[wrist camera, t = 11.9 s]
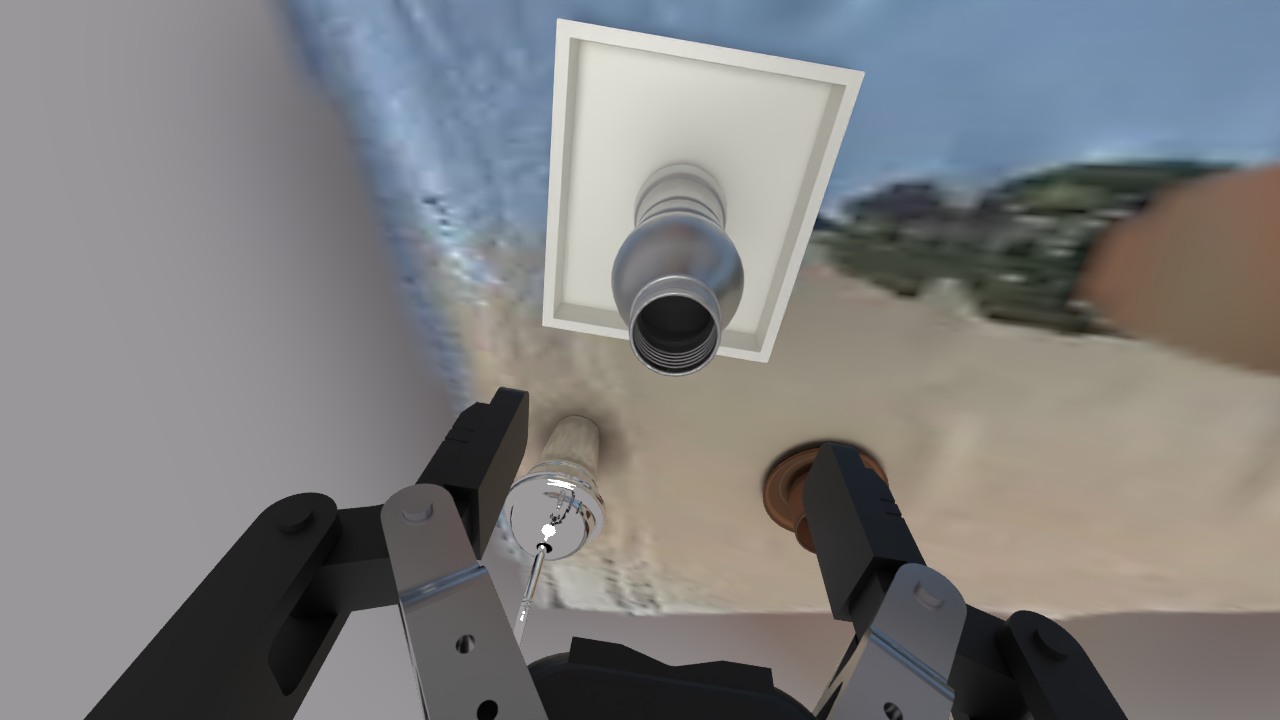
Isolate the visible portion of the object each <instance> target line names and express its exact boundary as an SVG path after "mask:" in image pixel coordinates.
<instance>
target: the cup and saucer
mask: <svg viewBox="0 0 1280 720" xmlns="http://www.w3.org/2000/svg"><path fill="white" fill-rule="evenodd" d="M819 449H820V448H816V449H811V450H807V451H804V452H801V453H798V454H796V455H794V456H792V457H790V458H788V459H787V460H785V461H784V462H782V463H781V464H780V465H778V466H777V467H776V468H775V469H774V470H773V472H772V473H771V474H770V476H769V477H768V479H767V481H766V484H765V487H764V492H763V503H764V507H765V509H766V511H767V513H768V515H769V516H770V518H771V519H772V520H773V521H774V522H776V523H777V524H778V525H779V526H781V527H783V528H784V529H787V530H789V531H791V532H794V533H795V535H796V538H797V541H798V542H799V544H800V545H801V546H802V547H803V548H805V549H806V550H808V551H810V552H812V553H815V554H816V551H815V547H814V544H813V540H812V536H811V533H810V529H809V525H808V522H807V518H806V515H805V511H804V507H803V502H802V492H803V486H804V482H805V480H806V478H807V476H808V473H809V471H810V469H811V467H812V465H813V463H814V460H815V458H816V456H817V454H818V452H819ZM858 453H859V455H860V457H861V459H862V461H863V464H864V466H865V468H870V469H873V470H874V471H875V472H876V473H877V474H878V475H879V476H880V478H881V479H882V480H883V481H884V482H885V483H886V484H887V485H888V487H889V484H888V479H887V477H886V475H885V473H884V471H883V470H882V468H881V467H880V466H879V465H878V464H877V463H876V462H875V461H874V460H872V459H871V458H870V457H868V456H867V455H865V454H863V453H860V452H858Z"/></svg>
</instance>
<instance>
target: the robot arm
mask: <svg viewBox="0 0 1280 720" xmlns="http://www.w3.org/2000/svg"><path fill="white" fill-rule="evenodd" d="M528 417H529V392H528V391H523V390H517V389H511V388H505V387H500V388H499V389H498V390H497V392H496V394H495V396H494V397H493V399H492V401H491V402H490V404H485V403H479V402H476V403H475V404H473V405H472V406H470V407H469V408H467V409H466V410H465V411H463V412H462V413H461V414H460V415H459V417H458V419H457V420H456V422H455V423H454V425H453V427H452V429H451V430H450V431H449V433H448V434H447V436H446V437H445V441H443V442H442V443H441V445H440V447H439V449H438V450H437V451H436V453H435V454H434V456H433V458H432V459H431V461H430V462H429V464H428V465H427V467H426V468H425V470H424V472H423V473H422V475H421V476H420V478H419V479H418V481H417V482H416V484H415V485H412V486H408V487H406V488H403V489H401V490H399V491H398V492H396V493H395V494H393V495H392V496H391V497H390V498H389V499H388V500H387V501H386V502H385V504H381V505H377V506H370V507H360V508H350V509H340V510H337V506H336V504H335V502H334V501H333V500H332V499H331V498H330V497H328V496H327V495H324V494H320V493H301V494H296V495H292V496H289V497H286V498H284V499H281V500H279V501H277V502H276V503H274V504H272V505H271V506H269V507H268V508H267V509H265V510H264V511H263V512H262V513H261V514H260V515H259V516H258V518H257V519H256V520H255V521H254V522H253V523H252V524H251V526H250V527H249V528H248V529H247V530H246V531H245V533H244V534H243V535H242V536H241V537H240V538H239V539H238V541H237V542H236V543H235V544H234V545H233V546H232V548H231V549H230V550H229V551H228V552H227V554H226V555H225V556H224V557H223V558H222V559H221V560H220V562H219V563H218V564H217V565H216V566H215V568H214V569H213V570H212V571H211V572H210V573H209V574H208V576H207V577H206V578H205V579H204V580H203V581H202V583H201V584H200V585H199V586H198V587H197V588H196V590H195V591H194V592H193V593H192V594H191V595H190V596H189V598H188V599H187V600H186V601H185V602H184V603H183V605H182V606H181V607H180V608H179V609H178V611H177V612H176V613H175V614H174V615H173V616H172V617H171V619H170V620H169V621H168V622H167V623H166V624H165V626H164V627H163V628H162V629H161V630H160V631H159V633H158V634H157V635H156V636H155V637H154V638H153V640H152V641H151V642H150V643H149V644H148V645H147V647H146V648H145V649H144V650H143V651H142V652H141V653H140V655H139V656H138V657H137V658H136V659H135V660H134V662H133V663H132V664H131V665H130V666H129V667H128V669H127V670H126V671H125V672H124V673H123V674H122V676H121V677H120V678H119V679H118V680H117V681H116V683H115V684H114V685H113V686H112V687H111V688H110V690H109V691H108V692H107V693H106V694H105V695H104V697H103V698H102V699H101V700H100V701H99V702H98V704H97V705H96V706H95V707H94V708H93V709H92V711H91V712H90V713H89V714H88V715H87V716H86V717H85V719H84V720H293V718H294V716H295V715H296V713H297V711H298V709H299V707H300V705H301V704H302V702H303V700H304V698H305V696H306V694H307V692H308V691H309V689H310V687H311V685H312V683H313V681H314V680H315V678H316V676H317V674H318V672H319V670H320V668H321V666H322V665H323V663H324V661H325V659H326V657H327V655H328V654H329V652H330V650H331V648H332V646H333V644H334V643H335V641H336V639H337V637H338V635H339V633H340V631H341V630H342V628H343V626H344V624H345V622H346V620H347V618H348V617H349V615H350V613H351V611H357V610H364V609H370V608H376V607H383V606H389V605H396V604H398V608H399V613H400V617H401V621H402V625H403V630H404V634H405V638H406V642H407V647H408V651H409V655H410V659H411V664H412V668H413V672H414V677H415V681H416V686H417V690H418V695H419V700H420V704H421V709H422V713H423V718H424V720H949V716H950V712H951V713H952V716H953V718H954V720H1128V719H1127V717H1126V716H1125V714H1124V712H1123V711H1122V709H1121V708H1120V706H1119V705H1118V703H1117V702H1116V700H1115V698H1114V697H1113V695H1112V694H1111V692H1110V690H1109V689H1108V687H1107V686H1106V684H1105V683H1104V681H1103V679H1102V678H1101V676H1100V675H1099V673H1098V672H1097V670H1096V668H1095V667H1094V665H1093V664H1092V662H1091V661H1090V659H1089V657H1088V656H1087V654H1086V653H1085V651H1084V650H1083V648H1082V647H1081V646H1080V644H1079V643H1078V642H1077V641H1076V640H1075V639H1074V638H1073V637H1072V636H1071V635H1070V634H1069V633H1068V632H1067V631H1066V630H1065V629H1063V628H1062V627H1061V626H1059V625H1058V624H1057V623H1055V622H1054V621H1052V620H1050V619H1049V618H1047V617H1045V616H1043V615H1040V614H1038V613H1035V612H1032V611H1026V610H1021V611H1017V612H1015V613H1013V614H1012V615H1011V616H1010V617H1009V619H1007V621H1004V620H1002V619H1000V618H997V617H995V616H993V615H990V614H988V613H986V612H983V611H981V610H979V609H976V608H974V607H972V606H970V605H968V604H966V603H965V601H964V599H963V597H962V595H961V594H960V592H959V591H958V589H957V588H956V587H955V586H954V585H953V584H952V583H951V582H950V581H949V580H948V579H947V578H946V577H945V576H943V575H942V574H940V573H939V572H937V571H935V570H934V569H932V568H929V567H927V565H926V563H925V561H924V559H923V557H922V555H921V553H920V551H919V549H918V547H917V545H916V543H915V541H914V539H913V537H912V535H911V533H910V530H909V528H908V526H907V524H906V522H905V520H904V518H902V517H901V515H902V514H901V512H900V510H899V508H898V506H897V504H895V500H894V498H893V496H892V494H891V492H890V489H889V487H888V485H887V484H886V483H885V482H884V481H883V480H882V479H881V478H880V476H879V475H878V474H877V473H876V472H875V471H874V470H873V469H870V468H865V466H864V464H863V461H862V459H861V457H860V455H859V453H858V451H857V449H856V448H855V447H853V446H848V445H842V444H836V443H830V442H825V443H823V444H822V446H821V447H820V449H819V452H818V454H817V456H816V458H815V460H814V463H813V465H812V467H811V469H810V471H809V473H808V476H807V478H806V480H805V482H804V486H803V492H802V502H803V507H804V511H805V515H806V518H807V522H808V525H809V529H810V533H811V536H812V540H813V544H814V547H815V551H816V555H817V558H818V562H819V566H820V569H821V573H822V577H823V580H824V584H825V588H826V591H827V595H828V599H829V602H830V606H831V610H832V613H833V616H834V619H836V620H842V621H848V622H853V625H854V628H855V633H854V635H853V636H852V638H851V639H850V641H849V643H848V645H847V647H846V649H845V651H844V653H843V655H842V657H841V659H840V661H839V663H838V665H837V667H836V669H835V671H834V672H833V674H832V676H831V678H830V680H829V682H828V684H827V686H826V688H825V690H824V692H823V694H822V696H821V698H820V700H819V701H818V703H817V705H816V707H815V708H814V710H813V712H812V713H811V712H810V711H809V710H808V709H807V708H806V707H804V706H803V705H802V704H801V703H800V702H798V701H797V700H796V699H794V698H793V697H791V696H790V695H788V694H787V693H785V692H783V691H782V690H780V689H778V688H776V687H774V685H773V678H772V672H771V668H765V667H759V666H753V665H747V664H741V663H734V662H728V661H715V662H708V663H700V664H692V665H684V666H669V665H666V664H664V663H662V662H660V661H657V660H655V659H653V658H651V657H648V656H646V655H644V654H642V653H640V652H638V651H635V650H633V649H631V648H629V647H626V646H624V645H622V644H616V643H610V642H604V641H597V640H592V639H585V638H579V637H573V638H572V643H571V648H570V652H566V653H559V654H555V655H551V656H547V657H545V658H542V659H540V660H537V661H535V662H533V663H531V664H529V665H528V666H527V665H526V663H525V660H524V658H523V656H522V653H521V651H520V648H519V646H518V643H517V641H516V638H515V636H514V633H513V631H512V628H511V626H510V623H509V621H508V619H507V616H506V614H505V611H504V609H503V606H502V604H501V601H500V599H499V596H498V594H497V591H496V589H495V587H494V584H493V582H492V579H491V577H490V574H489V572H488V570H487V569H486V567H485V566H481V567H480V566H479V564H478V562H477V560H481V559H482V556H483V553H484V551H485V549H486V547H487V544H488V542H489V539H490V537H491V534H492V532H493V530H494V527H495V525H496V522H497V520H498V517H499V515H500V513H501V510H502V508H503V505H504V503H505V500H506V498H507V495H508V493H509V491H510V488H511V486H512V483H513V481H514V478H515V476H516V474H517V471H518V469H519V466H520V464H521V461H522V459H523V456H524V453H525V449H526V445H527V439H528Z"/></svg>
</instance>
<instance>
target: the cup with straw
mask: <svg viewBox="0 0 1280 720" xmlns="http://www.w3.org/2000/svg"><path fill="white" fill-rule="evenodd" d="M599 438H600V433H599V430H598V428H597V426H596V425H595V424H594V423H593V422H592V421H591V420H589V419H587V418H585V417H581V416H568V417H565V418H563V419H561V420H560V421H559V422H558V423H557V425H556V427H555V429H554V430H553V432H552V434H551V436H550V437H549V439H548V441H547V443H546V445H545V446H544V448H543V450H542V452H541V454H540V456H539V457H538V459H537V461H536V463H535V465H534V466H533V467H532V468H531V470H530V471H529V472H528V474H527V475H524V476H522V477H520V478H519V479H517V480H516V481H515V482H513V484H512V486H511V488H510V491H509V493H508V495H507V498H506V500H505V504H504V511H505V515H506V518H507V520H508V522H509V524H510V525H511V530H512V534H513V536H514V539H515V540H516V542H517V543H518V545H519V546H520V548H521V549H523V550H524V551H525V552H526V553H528V554H529V555H531V556H533V557H535V560H534V564H533V567H532V570H531V574H530V577H529V580H528V583H527V587H526V590H525V593H524V597H523V600H522V602H521V606H520V609H519V612H518V615H517V620H516V625H515V629H514V636H515V638H516V641H517V643H518V646H519V648H520V647H521V643H522V638H523V634H524V630H525V626H526V622H527V618H528V614H529V611H530V608H531V605H532V602H533V598H534V595H535V591H536V588H537V584H538V581H539V577H540V574H541V570H542V566H543V563H544V560H547V561H557V560H563V559H565V558H568V557H570V556H572V555H574V554H575V553H577V552H578V551H579V550H580V549H581V548H582V547H583V546H584V545H585V544H587V543H589V542H590V541H592V540H593V539H594V538H595V537H596V536H597V535H598V534H599V533H600V531H601V530H602V526H603V525H604V523H605V519H606V507H605V504H604V501H603V499H602V498H601V496H600V495H599V493H598V485H597V476H598V458H599Z"/></svg>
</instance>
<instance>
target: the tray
mask: <svg viewBox="0 0 1280 720" xmlns="http://www.w3.org/2000/svg"><path fill="white" fill-rule="evenodd" d="M864 75H865V72H863V71H857V70H851V69H846V68H840V67H834V66H829V65H823V64H817V63H811V62H806V61H800V60H794V59H788V58H783V57H777V56H771V55H765V54H760V53H754V52H748V51H743V50H737V49H731V48H725V47H720V46H714V45H708V44H702V43H697V42H691V41H685V40H679V39H674V38H668V37H662V36H657V35H651V34H645V33H639V32H634V31H628V30H622V29H616V28H611V27H605V26H599V25H594V24H588V23H582V22H576V21H571V20H565V19H559V18H557V31H556V52H555V73H554V93H553V114H552V135H551V156H550V177H549V197H548V218H547V239H546V260H545V281H544V301H543V322H542V326H548V327H554V328H560V329H566V330H572V331H578V332H584V333H590V334H596V335H602V336H608V337H614V338H620V339H626V340H630V339H629V328H628V327H627V325H626V324H625V322H624V321H623V319H622V318H621V316H620V314H619V311H618V309H617V306H616V303H615V301H614V298H613V293H612V287H611V273H612V268H613V264H614V260H615V258H616V256H617V253H618V251H619V249H620V247H621V246H622V244H623V242H624V241H625V239H626V238H627V237H628V235H629V234H630V233H631V232H632V231H633V230H634V229H635V227H634V219H633V212H634V204H635V200H636V197H637V194H638V192H639V190H640V188H641V187H642V185H643V184H644V183H645V181H646V180H647V179H648V178H649V177H650V176H651V175H652V174H654V173H655V172H657V171H658V170H660V169H662V168H665V167H667V166H670V165H677V164H686V165H692V166H695V167H698V168H700V169H702V170H704V171H706V172H707V173H709V174H710V175H711V176H712V177H713V178H714V179H715V180H716V181H717V183H718V184H719V185H720V187H721V189H722V191H723V193H724V195H725V199H726V203H727V222H726V228H725V232H726V233H727V235H728V236H729V237H730V239H731V240H732V241H733V243H734V245H735V247H736V249H737V251H738V254H739V256H740V258H741V261H742V265H743V269H744V290H743V295H742V299H741V301H740V304H739V307H738V309H737V311H736V313H735V315H734V317H733V318H732V320H731V322H730V323H729V325H728V326H727V327H726V328H725V329H724V330H723V331H722V335H721V341H720V345H719V348H718V350H717V353H716V355H722V356H728V357H734V358H740V359H746V360H752V361H758V362H764V363H768V360H769V357H770V354H771V351H772V348H773V345H774V342H775V339H776V336H777V333H778V330H779V327H780V325H781V322H782V319H783V316H784V313H785V310H786V307H787V304H788V301H789V298H790V295H791V292H792V289H793V286H794V283H795V280H796V277H797V274H798V271H799V268H800V265H801V262H802V259H803V256H804V253H805V250H806V247H807V244H808V241H809V238H810V235H811V232H812V229H813V226H814V223H815V220H816V217H817V214H818V211H819V209H820V206H821V203H822V200H823V197H824V194H825V191H826V188H827V185H828V182H829V179H830V176H831V173H832V170H833V167H834V164H835V161H836V158H837V155H838V152H839V149H840V146H841V143H842V140H843V137H844V134H845V131H846V128H847V125H848V122H849V119H850V116H851V113H852V110H853V107H854V104H855V101H856V98H857V95H858V93H859V90H860V87H861V84H862V81H863V78H864Z"/></svg>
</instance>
